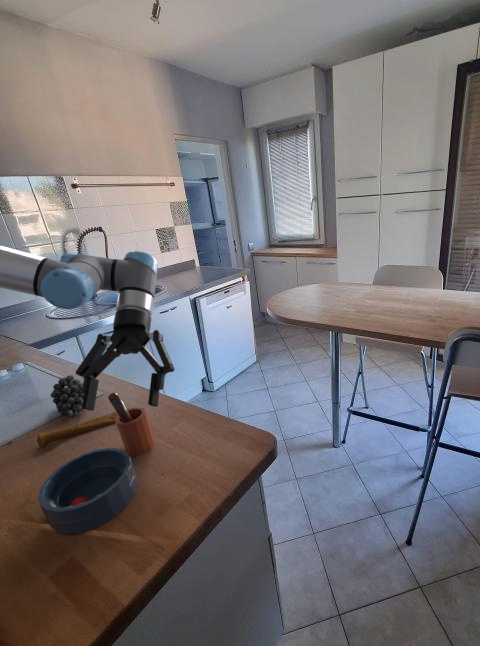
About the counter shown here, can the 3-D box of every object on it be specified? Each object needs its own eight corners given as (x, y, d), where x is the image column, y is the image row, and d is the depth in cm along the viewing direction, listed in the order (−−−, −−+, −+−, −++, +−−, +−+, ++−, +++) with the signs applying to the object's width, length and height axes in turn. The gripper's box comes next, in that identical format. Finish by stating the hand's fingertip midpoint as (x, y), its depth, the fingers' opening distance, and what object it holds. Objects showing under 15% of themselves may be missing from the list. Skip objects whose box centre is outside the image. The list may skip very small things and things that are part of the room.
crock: (120, 456, 73) (108, 423, 70) (137, 438, 79) (126, 406, 75) (144, 458, 72) (133, 425, 69) (160, 439, 78) (150, 407, 74)
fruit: (68, 392, 83) (74, 366, 95) (35, 411, 81) (45, 382, 93) (91, 415, 87) (94, 388, 100) (60, 433, 85) (67, 403, 98)
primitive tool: (126, 410, 90) (122, 399, 88) (130, 420, 86) (127, 408, 84) (40, 443, 80) (34, 431, 78) (40, 456, 75) (34, 444, 74)
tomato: (65, 503, 59) (65, 512, 57) (81, 490, 61) (81, 499, 58) (78, 512, 61) (78, 522, 58) (93, 499, 62) (94, 508, 59)
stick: (136, 446, 76) (105, 397, 65) (139, 439, 77) (109, 391, 67) (144, 446, 75) (114, 397, 65) (147, 439, 77) (117, 390, 67)
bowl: (30, 531, 58) (16, 506, 55) (91, 467, 71) (82, 445, 69) (103, 541, 55) (92, 515, 53) (153, 473, 68) (146, 450, 66)
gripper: (193, 317, 80) (186, 406, 72) (90, 324, 80) (73, 413, 72) (181, 303, 73) (173, 400, 65) (69, 310, 73) (47, 408, 65)
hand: (120, 407), depth 69 cm, fingers open, 13 cm apart
